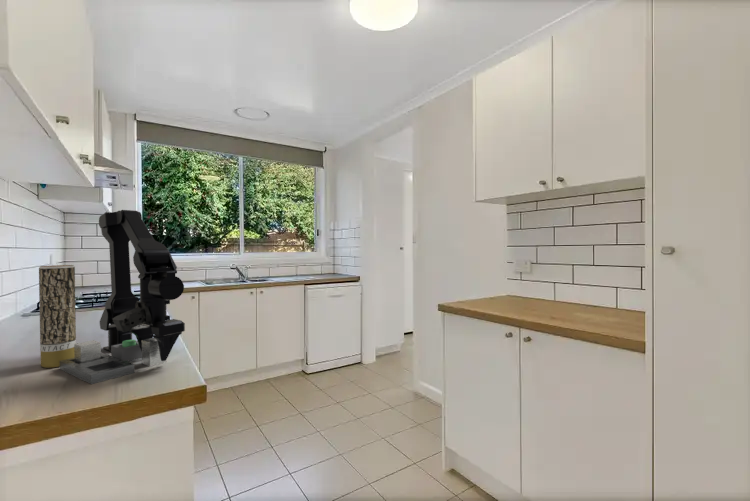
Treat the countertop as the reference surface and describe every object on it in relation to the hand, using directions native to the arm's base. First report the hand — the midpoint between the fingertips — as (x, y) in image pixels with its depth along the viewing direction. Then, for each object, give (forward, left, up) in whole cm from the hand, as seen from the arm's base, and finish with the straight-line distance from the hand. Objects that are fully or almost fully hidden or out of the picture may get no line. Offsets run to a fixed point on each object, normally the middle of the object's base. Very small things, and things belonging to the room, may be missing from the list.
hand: (154, 357), depth 92 cm
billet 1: (-11, -11, -1) cm, 15 cm away
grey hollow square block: (-10, -2, -1) cm, 10 cm away
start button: (-10, -1, +1) cm, 10 cm away
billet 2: (0, 0, -1) cm, 1 cm away
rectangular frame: (-6, -11, -1) cm, 12 cm away
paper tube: (-20, -14, -2) cm, 24 cm away
